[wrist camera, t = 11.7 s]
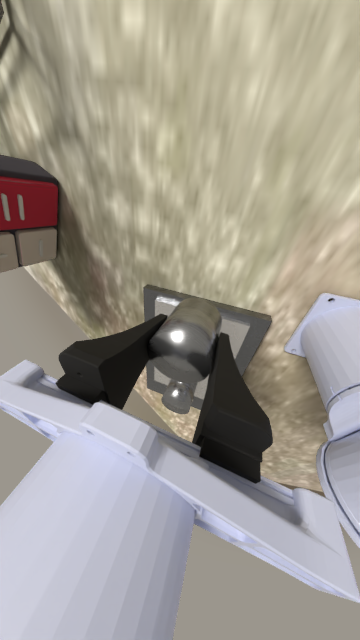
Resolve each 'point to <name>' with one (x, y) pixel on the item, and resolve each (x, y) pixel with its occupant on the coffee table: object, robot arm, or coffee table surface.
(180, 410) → the cylinder
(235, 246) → the coffee table surface
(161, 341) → the cylinder
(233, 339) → the pan
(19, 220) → the grey and red box
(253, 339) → the base
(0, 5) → the geometric lantern
